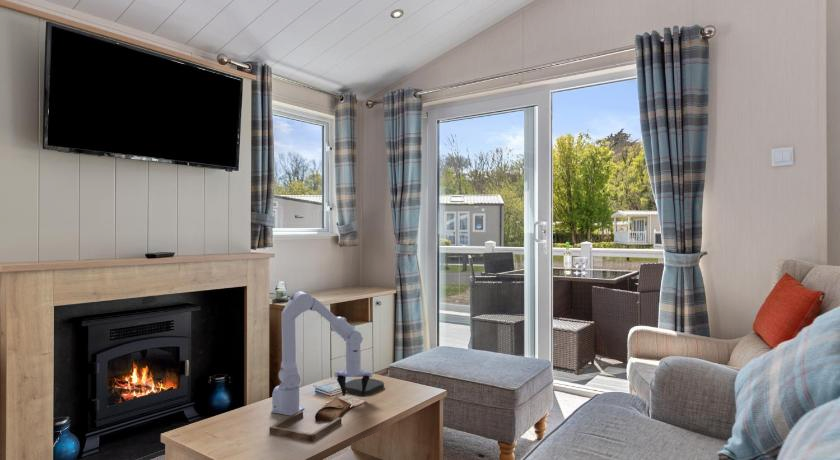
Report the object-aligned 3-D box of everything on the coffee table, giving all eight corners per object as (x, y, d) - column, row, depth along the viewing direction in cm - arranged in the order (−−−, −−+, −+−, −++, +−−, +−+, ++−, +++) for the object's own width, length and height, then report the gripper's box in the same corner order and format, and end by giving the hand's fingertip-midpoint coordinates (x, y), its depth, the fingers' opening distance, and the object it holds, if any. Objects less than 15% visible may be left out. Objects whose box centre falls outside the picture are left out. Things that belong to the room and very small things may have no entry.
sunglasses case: (337, 422, 175) (328, 405, 175) (321, 431, 176) (311, 414, 177) (355, 405, 192) (346, 389, 193) (340, 413, 193) (331, 397, 194)
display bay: (269, 433, 166) (269, 427, 166) (300, 416, 181) (300, 411, 181) (313, 441, 159) (312, 435, 159) (341, 423, 174) (341, 417, 174)
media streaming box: (365, 397, 202) (365, 390, 202) (338, 391, 210) (338, 384, 210) (387, 388, 214) (387, 380, 214) (361, 382, 222) (361, 375, 222)
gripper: (332, 363, 194) (333, 398, 194) (369, 363, 193) (370, 398, 193) (337, 358, 201) (337, 392, 201) (372, 358, 200) (373, 392, 200)
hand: (353, 395), depth 197 cm, fingers open, 7 cm apart
